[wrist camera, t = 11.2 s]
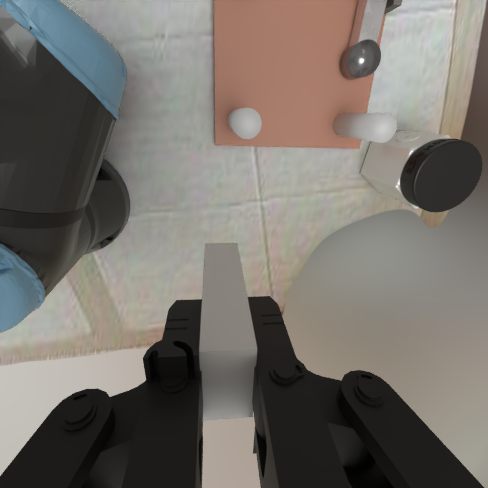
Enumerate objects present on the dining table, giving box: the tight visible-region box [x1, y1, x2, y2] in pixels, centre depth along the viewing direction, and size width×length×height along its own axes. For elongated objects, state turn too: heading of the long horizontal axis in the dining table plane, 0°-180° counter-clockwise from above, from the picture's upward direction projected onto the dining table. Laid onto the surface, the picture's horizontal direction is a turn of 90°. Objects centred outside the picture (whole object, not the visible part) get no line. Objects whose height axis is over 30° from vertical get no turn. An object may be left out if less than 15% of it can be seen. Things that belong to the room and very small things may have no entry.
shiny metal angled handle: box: [340, 0, 387, 80], centre depth 28 cm, size 10×4×10 cm, turn 174°
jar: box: [360, 131, 482, 212], centre depth 37 cm, size 9×8×12 cm
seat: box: [214, 0, 402, 149], centre depth 30 cm, size 20×20×12 cm
